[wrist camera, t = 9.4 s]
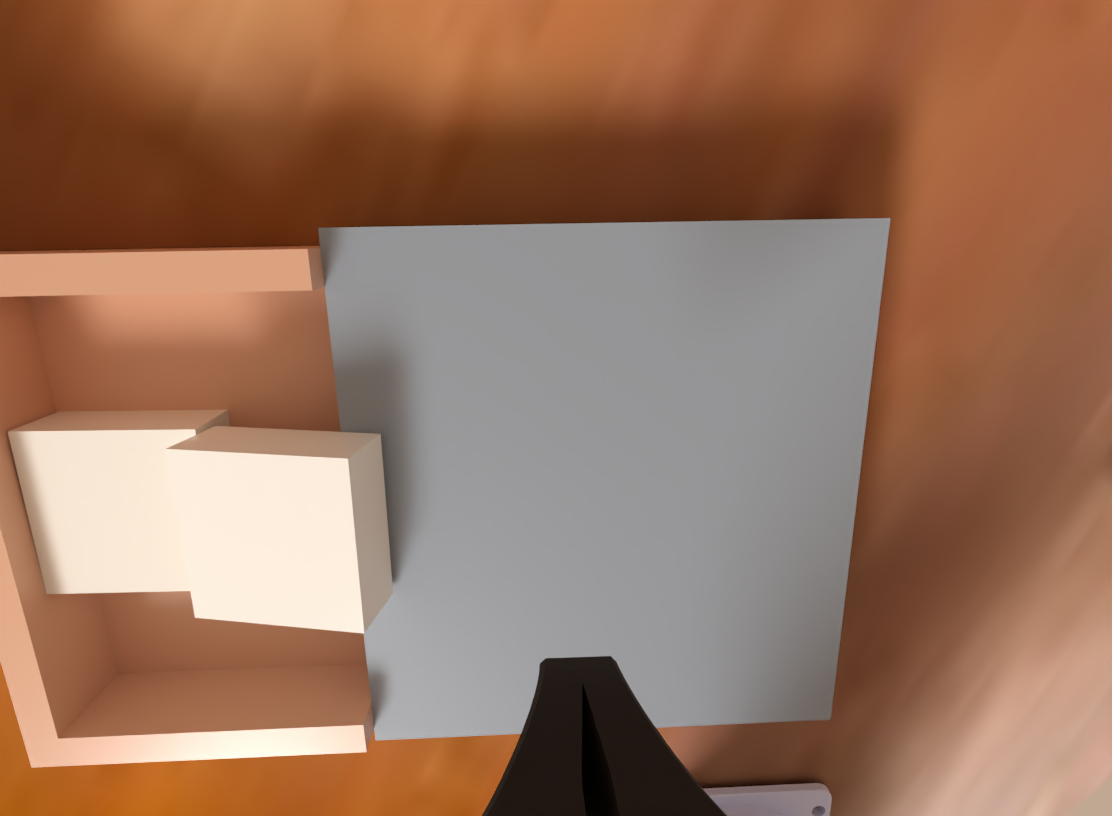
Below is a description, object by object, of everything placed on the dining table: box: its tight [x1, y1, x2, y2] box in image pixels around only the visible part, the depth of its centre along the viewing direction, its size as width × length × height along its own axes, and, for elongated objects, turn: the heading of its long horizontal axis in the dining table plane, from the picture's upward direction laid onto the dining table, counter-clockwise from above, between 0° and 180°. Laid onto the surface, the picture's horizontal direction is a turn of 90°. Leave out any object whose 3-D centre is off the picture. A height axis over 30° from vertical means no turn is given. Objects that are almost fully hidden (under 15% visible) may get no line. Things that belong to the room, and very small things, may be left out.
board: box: [318, 218, 891, 740], centre depth 20 cm, size 16×15×2 cm
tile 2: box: [8, 410, 230, 594], centre depth 19 cm, size 5×5×2 cm
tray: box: [0, 246, 374, 767], centre depth 19 cm, size 15×10×4 cm, turn 1°
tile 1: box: [165, 426, 393, 633], centre depth 18 cm, size 5×5×2 cm
